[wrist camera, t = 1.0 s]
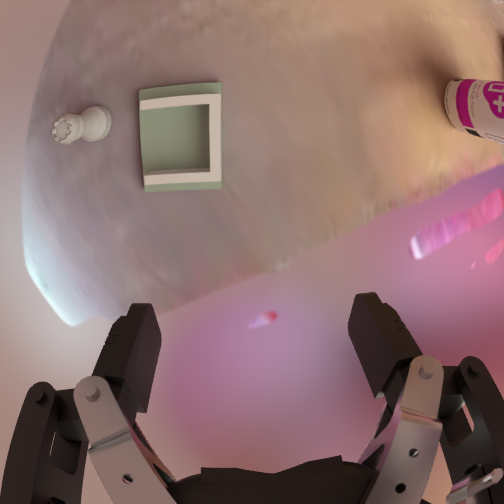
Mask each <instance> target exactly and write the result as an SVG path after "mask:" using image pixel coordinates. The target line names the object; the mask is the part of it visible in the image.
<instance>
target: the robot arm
mask: <svg viewBox="0 0 504 504" xmlns="http://www.w3.org/2000/svg"><path fill="white" fill-rule="evenodd" d="M348 333H349V336H350V339H351V341H352V343H353V346H354V348H355V351H356V353H357V355H358V358H359V360H360V363H361V365H362V367H363V370H364V372H365V375H366V377H367V380H368V382H369V385H370V387H371V390H372V393H373V395H374V398H375V399H376V398H379V397H383V396H385V398H386V403H385V404H384V407H383V410H382V412H381V415H380V418H379V420H378V423H377V425H376V428H375V430H374V433H373V435H372V437H371V440H370V442H369V444H368V446H367V447H366V449H365V450H364V452H363V453H362V455H361V457H360V459H359V460H358V462H357V463H354V462H346V461H342V457H341V455H339V456H335V457H330V458H325V459H320V460H314V461H309V462H306V463H303V464H300V465H298V466H295V467H293V468H290V469H287V470H284V471H281V472H278V473H273V474H270V473H263V472H255V471H249V470H244V469H239V468H204V467H201V474H196V475H192V476H189V477H186V478H184V479H181V480H179V481H177V480H176V479H175V478H174V476H173V475H172V473H171V472H170V471H169V470H168V468H167V467H166V466H165V465H164V464H163V462H162V461H161V460H160V459H159V457H158V456H157V454H156V453H155V451H154V450H153V448H152V447H151V445H150V444H149V442H148V440H147V439H146V437H145V436H144V434H143V432H142V431H141V429H140V427H139V426H138V424H137V422H136V421H135V419H136V414H137V412H141V413H147V408H148V403H149V398H150V393H151V388H152V383H153V379H154V374H155V370H156V365H157V361H158V357H159V352H160V348H161V340H162V339H161V331H160V328H159V325H158V322H157V319H156V315H155V312H154V309H153V306H152V304H150V303H133V304H132V305H131V306H130V309H129V311H128V313H127V316H121V317H120V318H119V319H118V320H117V321H116V322H115V323H114V324H113V325H112V328H111V330H110V332H109V334H108V335H109V336H108V337H107V339H106V341H105V345H104V346H103V349H102V351H101V353H100V356H99V358H98V361H97V363H96V366H95V368H94V371H93V373H92V376H89V377H86V378H84V379H82V380H81V381H80V382H79V383H78V384H77V385H76V387H75V388H74V389H67V390H59V391H56V390H55V389H54V388H53V387H52V386H51V385H50V384H49V383H47V382H38V383H36V384H34V385H33V386H32V387H31V388H30V389H29V390H28V392H27V395H26V398H25V400H24V403H23V406H22V409H21V411H20V414H19V417H18V420H17V423H16V427H15V430H14V433H13V437H12V440H11V444H10V448H9V452H8V456H7V461H6V465H5V470H4V475H3V480H2V487H1V494H0V504H81V494H82V485H83V476H84V469H85V462H86V456H87V450H88V444H89V441H90V444H91V448H90V449H89V456H90V459H91V461H92V463H93V465H94V467H95V470H96V472H97V474H98V476H99V478H100V480H101V481H102V483H103V485H104V487H105V489H106V491H107V493H108V494H109V496H110V498H111V500H112V501H113V503H114V504H431V503H429V502H427V501H425V500H423V499H422V496H423V493H424V491H425V488H426V485H427V482H428V479H429V476H430V473H431V470H432V467H433V463H434V460H435V456H436V453H437V449H438V445H439V441H440V444H441V447H442V450H443V453H444V457H445V460H446V463H447V467H448V470H449V473H450V477H451V480H452V485H453V486H452V488H451V491H450V493H449V494H448V495H447V497H446V503H447V504H504V400H503V398H502V396H501V394H500V392H499V390H498V388H497V386H496V384H495V382H494V381H493V379H492V377H491V375H490V373H489V371H488V370H487V368H486V366H485V365H484V363H483V362H482V361H481V360H480V359H478V358H476V357H472V356H468V357H465V358H464V359H463V360H462V361H461V363H460V364H459V366H442V365H441V364H440V363H439V362H438V361H437V360H436V359H435V358H433V357H430V356H427V355H423V354H422V352H421V350H420V349H419V347H418V345H417V344H416V342H415V340H414V339H413V337H412V336H411V334H410V332H409V331H408V329H406V326H405V324H404V323H403V321H401V318H400V316H399V315H398V313H397V312H396V310H394V309H393V308H392V307H391V306H389V305H388V304H387V303H382V302H381V300H380V299H379V297H378V295H377V294H376V293H375V292H370V293H361V294H357V295H356V296H355V299H354V302H353V306H352V310H351V314H350V318H349V322H348ZM464 404H466V406H467V408H468V411H469V413H470V415H471V418H472V420H473V422H474V430H473V432H472V430H471V428H470V425H469V423H468V420H467V418H466V415H465V413H464V411H463V408H462V406H463V405H464ZM54 433H55V437H54ZM53 437H54V441H53ZM52 442H53V446H52ZM51 446H52V450H51ZM50 450H51V455H50Z"/></svg>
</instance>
